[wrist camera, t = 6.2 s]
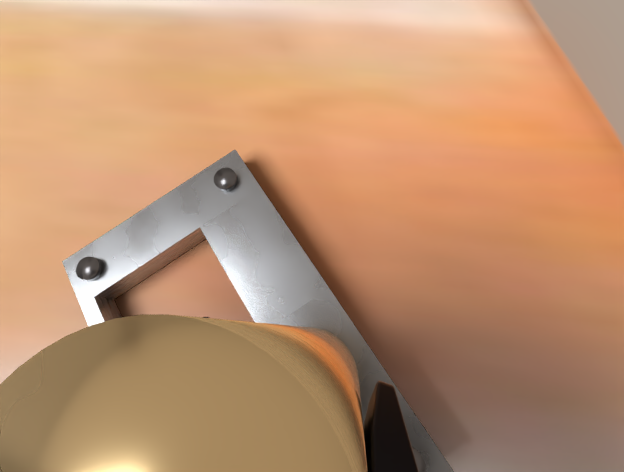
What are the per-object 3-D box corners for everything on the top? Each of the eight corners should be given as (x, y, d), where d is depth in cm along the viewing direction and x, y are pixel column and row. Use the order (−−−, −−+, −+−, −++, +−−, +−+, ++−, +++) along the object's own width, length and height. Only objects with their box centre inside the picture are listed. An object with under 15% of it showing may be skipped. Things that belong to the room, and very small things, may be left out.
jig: (444, 458, 15) (457, 476, 13) (233, 613, 14) (215, 655, 12) (243, 162, 20) (232, 145, 18) (83, 266, 19) (55, 260, 18)
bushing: (379, 395, 14) (504, 717, 2) (293, 456, 14) (-43, 1153, 2) (321, 308, 16) (216, 234, 4) (242, 363, 15) (-146, 474, 3)
